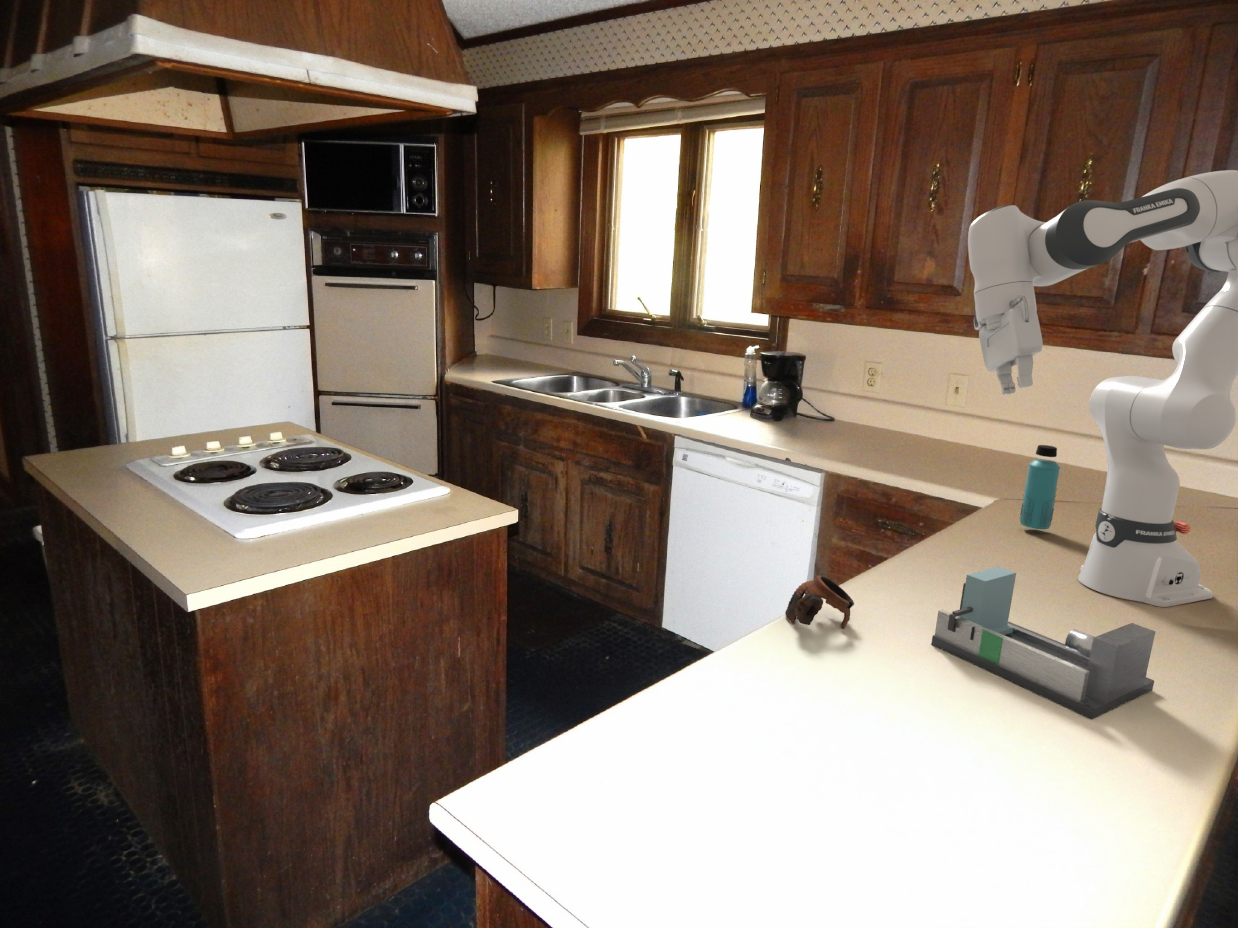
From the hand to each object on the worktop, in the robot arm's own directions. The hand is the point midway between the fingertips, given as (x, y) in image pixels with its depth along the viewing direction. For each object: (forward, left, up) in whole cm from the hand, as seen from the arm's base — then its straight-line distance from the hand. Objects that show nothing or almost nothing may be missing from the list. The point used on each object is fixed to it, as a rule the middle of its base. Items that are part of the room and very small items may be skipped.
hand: (1017, 390), depth 130 cm
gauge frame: (+7, +22, -37) cm, 44 cm away
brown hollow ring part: (+33, +3, -38) cm, 50 cm away
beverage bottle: (-41, -37, -38) cm, 67 cm away
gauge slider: (+12, +14, -35) cm, 40 cm away
